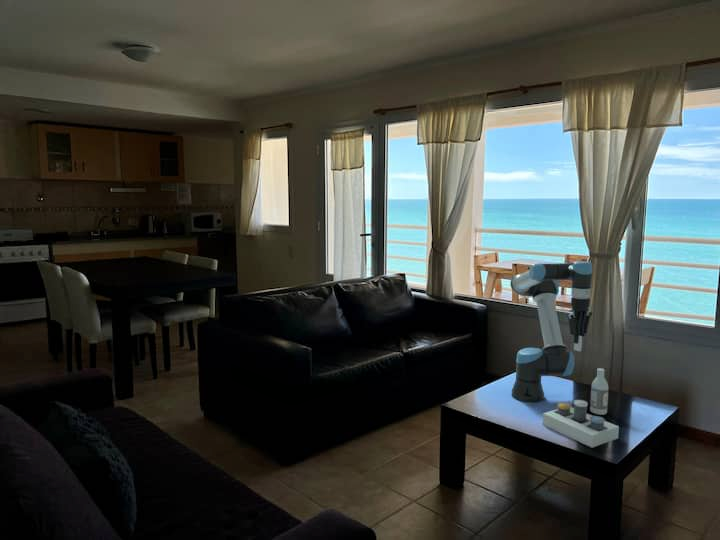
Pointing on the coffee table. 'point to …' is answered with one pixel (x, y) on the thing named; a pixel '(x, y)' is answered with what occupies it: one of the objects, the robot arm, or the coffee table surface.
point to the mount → (580, 428)
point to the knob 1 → (564, 409)
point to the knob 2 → (580, 411)
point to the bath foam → (599, 394)
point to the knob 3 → (597, 423)
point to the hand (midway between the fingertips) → (577, 350)
